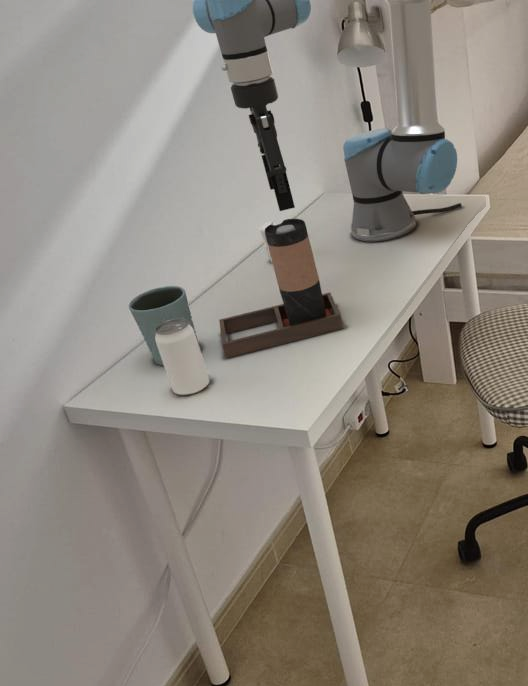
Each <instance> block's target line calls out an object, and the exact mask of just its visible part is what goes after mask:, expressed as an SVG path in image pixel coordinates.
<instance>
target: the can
mask: <svg viewBox="0 0 528 686" xmlns="http://www.w3.org/2000/svg"><path fill="white" fill-rule="evenodd" d="M155 332H156V336H155V341H156V344H157V347H158V350H159V353H160V356H161V359H162V361H163V364H164V366H163V367H164V370H165V372H166V375H167V378H168V381H169V384H170V387H171V389H172V392H173V393H175V394H176V395H178V396H188V395H189V396H191V395H194V394H197V393H200V392H201V391H203V390H204V389H206V388H207V387H208V386H209V383H210V377H209V376H210V375H209V373H208V369H207V367H206V363H205V360H204V357H203V353H202V351H201V347H200V348H199V346H200V344H199V345H198V342H199V341H198V342H197V339H198V337H197V338H196V335H197V334H196V335H195V332H194V330H193V328H192V327H191V326H190V325H189V324H188V320H186V319H182V318H178V319H172V320H168V321H165V322H163V323H161V324H159V325H158V326H157V327H156V328H155Z"/></svg>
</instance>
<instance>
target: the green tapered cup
mask: <svg viewBox="0 0 528 686" xmlns="http://www.w3.org/2000/svg"><path fill="white" fill-rule="evenodd" d="M128 309H129V311H130V313H131V315H132V317H133V319H134V321H135V323H136V325H137V326H138V329H139V331H140V332H141V335H142V337H143V340H144V341H145V343H146V344H145V345H146V346H147V348H148V350H149V352H150V353H151V357H152V359H153V360H154V362H155V364H157V365H158V366H163V367H164V364H163V361H162V359H161V356H160V353H159V350H158V347H157V344H156V341H155V336H156V332H155V328H156V327H157V326H158V325H159V324H161V323H163V322H165V321H168V320H172V319H178V318H182V319H186V320H188V324H189V325H190V326H191V327H192V328H193V330H194V332H195V335H196V338H197V342H198V345H199V348H200V349H201V347H200V342H199V339H198V335H197V334H196V333H197V332H196V329H195V325H194V322H193V316H192V312H191V308H190V307H189V302H188V296H187V293H186V290H185V288H183V287H181V286H179V285H178V286H177V285H167V286H161V287H156V288H153V289H150V290H147V291H144V292H142V293H140V294H138V295H137V296H135V297H134V298H133V299H131V300H130V302H129V304H128Z"/></svg>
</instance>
